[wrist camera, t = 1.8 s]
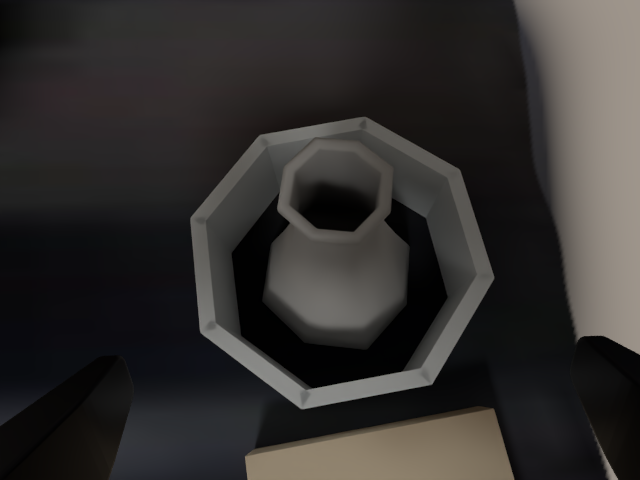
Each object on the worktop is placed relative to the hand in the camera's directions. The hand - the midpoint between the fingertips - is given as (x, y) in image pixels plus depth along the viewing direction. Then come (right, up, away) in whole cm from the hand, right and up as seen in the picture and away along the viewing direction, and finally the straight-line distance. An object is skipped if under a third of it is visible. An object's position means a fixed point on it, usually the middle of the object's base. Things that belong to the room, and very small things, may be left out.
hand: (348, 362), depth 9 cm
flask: (0, +1, +13) cm, 13 cm away
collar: (0, +1, +13) cm, 13 cm away
